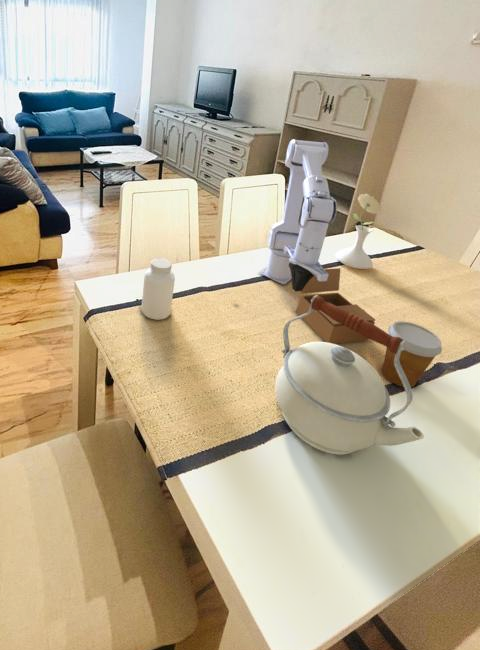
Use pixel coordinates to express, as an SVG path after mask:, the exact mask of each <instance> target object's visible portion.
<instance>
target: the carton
mask: <svg viewBox="0 0 480 650" xmlns="http://www.w3.org/2000/svg"><path fill="white" fill-rule="evenodd" d="M316 295H318V296H320V297H322V298H323V299H324V301H325V302H326V301H330V302H332V303H333V304H334V305H335V306H338V307H340V308H343V309H345V310H346V311H348V312H349V313H352V314H354V315H355V316H358V317H359V318H362V319H363V320H364V321H367V322H370V323H372V324H373V325H375V324H376V322H375V321H376V318H374V317H373V316H372V315H370V314H369V312H367V311H365V310H364V309H363V308H361V306H359V305H358V304H353V303H351V302H350V301H349V300H348V299H347V298H345V297H344V296H343V295H342V294H341V293H339V292H329V293H327V292H325V293H314V294H302V295H299V299H298V303H297V306H296V310H295V313H296V314H297V315H298V316H300V315H303V314H306V313H308V311H309V309H310V306H311V300H312V299H313V297H314V296H316ZM321 313H322V314H323V315H324V316H325V317H326V318H325V317H324V316H323V315H322V314H321ZM301 319H302V320H303V321H304V323H306V324H307V325H308V326H309V327H310V328H311V329H312V330H313V331H314V332H315V333H316V334H317V335H318V336H319V337H320V338H321V339H322V341H323V342H327V343H332V344H336V345H338V344H345V343H354V342H363V341H369V340H370V339H368V338H366V337H364V336H362V335H361V334H359V333H358V332H355V331H353V330H351V329H349V327H346V326H345V325H343V324H340V323H338V322H337V321H335V320H333V319H332V318H330V317H329V316H328V315H326V314H325V313H323V312H322V311H320V310H313V311H312V312H311V313H310V314H309V315H307V316H305V317H302V318H301Z"/></svg>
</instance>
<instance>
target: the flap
mask: <svg viewBox="0 0 480 650" xmlns="http://www.w3.org/2000/svg"><path fill="white" fill-rule="evenodd" d="M323 269H324V270H325V271H326V272H327V273H328V274H329V275H328V278H327V281H318V280H317V277H316V276H314V277H312V278H311V279H310V280H309V281H308V283H307V284H306V285H305V287H304V288H303V290H302V291H300V295H301V294H302V295H304V294H313V293H314V294H316V293H327V292H337V291H340V281H341V280H340V279H341V267H336V268H323Z"/></svg>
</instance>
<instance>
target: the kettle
mask: <svg viewBox="0 0 480 650" xmlns="http://www.w3.org/2000/svg"><path fill="white" fill-rule="evenodd" d="M313 310H320V311H322V312H323V313H325V314H326V315H328V316H329V317H330V318H332V319H333V320H335V321H337V322H338V323H340V324H343V325H345V326H346V327H349V329H351V330H353V331H355V332H358V333H359V334H361V335H362V336H364V337H366V338H368V339H369V340H370V341H373V342H375V343H377V344H379V345H382V346H384V347H385V348H388V349H389V350H390V352H392V353H396V355H395V358H394V365H395V368H396V370H397V373H398V375H399V377H400V379H401V381H402V383H403V386H404V387H403V388H404V391H405V393H406V404H405V405H404V406H403V407H401V408H400V409H398V410H396V411H394V412H393V413H391V414H390V415H389V416H388V417H387V416H386V415H387V414H388V413H389V411H390V408H391V397H390V393H389V391H388V389H387V387H386V385H385V384H384V382H383V380H382V378H381V376H380V374H379V372H377V371H376V369H375V368H374V367H373V366H372V365H371V364H370V363H369V361H367V360H366V359H365V358H364V357H362V356H361V355H359V354H358V353H356V352H355V351H353V350H351V349H349V348H347V347H345V346H341V345H339V344H332V343H327V342H325V341H311V342H306V343H303V344H301V345H298V346H295V347H293V348H291V345H290V339H289V327H290V325H291V323H292V322H295V321H296V320H299V319H302V317H305V316H307V315H309V314H310V313H311V312H312V311H313ZM282 338H283V339H282V340H283V346H284V348H282V349H281V354H283V356H282V359H283V361H282V366H281V368H280V369H279V371H278V373H277V375H276V379H275V384H274V391H275V397H276V400H277V403H278V406H279V408H280V410H281V413H282V416H283V418H284V420H285V422H286V424H287V425H288V427H289V428H290V429H291V431H292V432H293V433H294V434H295V435H296V436H297V437H298V438H299V439H300V440H301V441H303V442H305V443H306V444H307V445H309V446H311V447H312V448H315V449H317V450H319V451H321V452H323V453H327V454H332V455H337V456H338V455H348V454H351V453H353V452H357V451H362V450H365V449H368V448H370V447H372V446H385V447H386V446H387V447H392V446H399V445H404V444H407V443H411V442H416V441H420V440H423V439H424V438H425V435H424V433H423V431H421V429H419V428H418V427H416V426H409V427H408V426H407V427H396V422H395V421H394V420H392V419H394V418H395V417H398V416H400V415H401V414H403V412H405V411H406V410H407V409H408V408H409V406H410V405H411V403H412V402H413V390H412V387H410V384H409V382H408V380H407V377H406V375H405V373H404V371H403V369H402V367H401V364H400V361H399V357H400V354H401V351H403V350H404V349H405V348H404V344H405V340H402V339H401V338H400V337H393V336H391V335H389V333H388V332H386V331H384V329H381V328H380V327H378V326H377V325H375V324H374V325H373V324H372V323H370V322H367V321H364V320H363V319H362V318H359V317H358V316H355V315H354V314H352V313H349V312H348V311H346V310H345V309H343V308H340V307H338V306H335V305H333V304H330V303H328V302H325V301H324V299H323V298H322V297H320V296H318V295H316V296H314V297H313V299H312V300H311V306H310V309H309V311H308V313H306V314H303V315H300V316H299V315H298V316H296V317H293V318H292V319H290V320H289V321H287V322H286V323H285V325H284V326H283V331H282Z"/></svg>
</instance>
